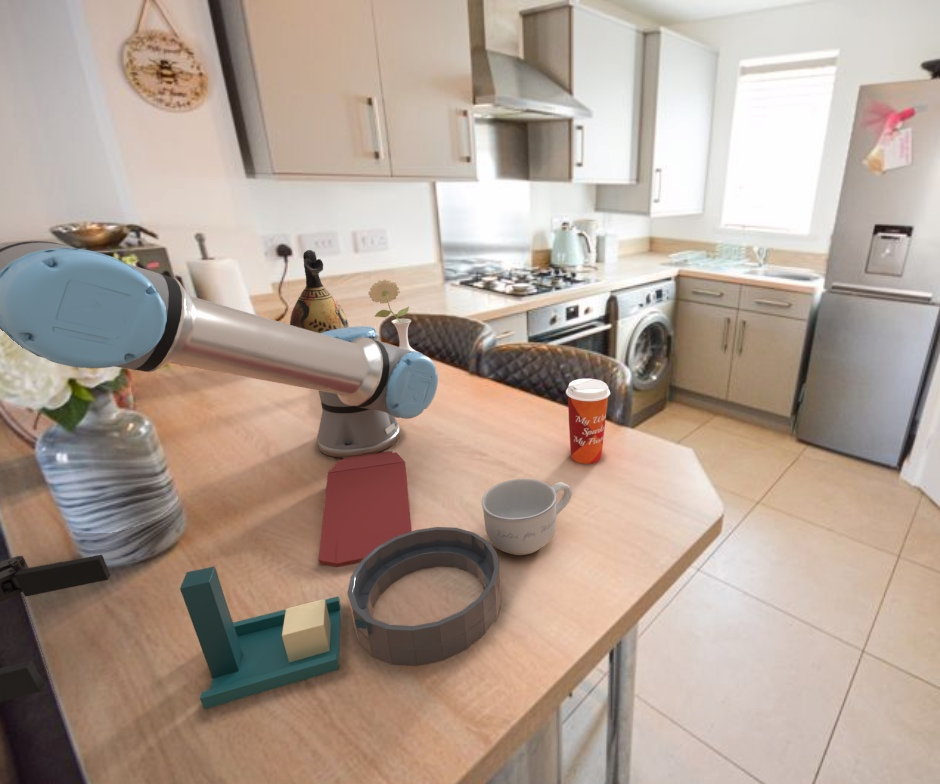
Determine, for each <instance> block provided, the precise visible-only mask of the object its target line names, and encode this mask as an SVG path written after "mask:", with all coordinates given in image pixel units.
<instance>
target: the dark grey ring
mask: <svg viewBox="0 0 940 784" xmlns="http://www.w3.org/2000/svg"><path fill="white" fill-rule="evenodd" d="M499 563H500V562H499V559H498V553H497V551H496V550H495V549H494V546H493V545H491V542H490V541H488V540H487V539H485V538H484V537H482V536H480V535H479V534H478V533H476V532H473V531H469V530H466V529H463V528H459V527H451V526H450V527H449V526H448V527H447V526H445V527H444V526H434V527H427V528H420V529H415V530H412V531H411V532H408V533H405V534H402V535H399V536H396V537H394V538H392V539H390V540H389V541H387V542H385V543H383V544H381V545H380V546H378V547H377V548H375V549H374V550H373V551H372V552H371V553H369V554H368V555H367V556H366V557H365V558H364V559H363V560H361V562H358V564H357V567H355V568H354V569H355V570H353V572H352V574H351V575H350V579H349V584H348V589H347V598H348V604H349V607H350V613H351V618H352V623H353V627H354V631H355V635H356V637H357V641H358V644H359V645H360V646H361V647H362V648H363V649H364V650H365V651H366V653H367V654H369V655H370V656H371V657H372V658H373V659H377V660H379V661H382V662H384V663H386V664H389V665H392V666H404V667H405V666H407V667H420V666H425V665H431V664H434V663H439V662H443V661H446V660H448V659H450V658H452V657H454V656H456V655H458V654H461V653H462V652H464V651H467V650H468V649H469V648H470V647H472V646H473V645H474V644H475V643H476V642H478V641H479V640H480V639H482V637H484V636H485V635H486V634H487V632H488V631H489V629H490V628H491V627H492V625H493V623H494V622H496V621H497V618H498V614H499V610H500V606H501V604H502V603H501V602H502V595H501V594H502V593H501V576H500V575H501V573H500V564H499ZM438 567H439V568H454V569H458V570H461V571H465V572H468V573H469V574H470V575H472V576H473V577H475V578H476V579H478V581H479V583H480V584H481V586H482V588H483V591H482V593H481V594H480V595H479V596H478V598H476V599H475V600H474V601H472V602H471V603H470V604H469V605H467V606H466V607H465V608H463V609H462V610H460V611H458V612H456V613H453V614H450V616H449V615H448V616H447V617H444V618H442V619H439V620H437V621H432V622H426V623H422V624H416V625H405V624H404V625H401V624H389V623H386V622H383V621H381V620H377V619H376V618H372V617H373V609H374V608H375V605H376V604H377V602H378V600H379V598H380V596H382V595H383V593H385V592H386V591H387V589H388V588H389V587H390V586H391V585H393V584H395V583H396V582H398V581H399V580H401V579H402V578H404V577H406V576H408V575H411V574H413V573H415V572H418V571H421V570H426V569H432V568H438Z"/></svg>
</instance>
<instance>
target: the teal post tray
mask: <svg viewBox="0 0 940 784" xmlns="http://www.w3.org/2000/svg"><path fill="white" fill-rule="evenodd" d="M184 575H185V576H184V577H183V580H182V582H181V585H180V587H179V590H180V592H181V593H180V594H181V596H182V599H183V601H184V604H185V607H186V609H187V612H188V616H189V617H190V620H191V623H192V625H193V629H194V631H195V634H196V637H197V639H198V643H199V645H200V648H201V651H202V654H203V656H204V660H205V662H206V664H207V668H208V670H209V674H210V676H211V678H212V679H211V682H210V685H209V689H207V690H204V691H201V694H200V697H199V699H200V702H201V705H202V708H203V709H204V710H208V709H210V708H213V707H217V706H220V705H224V704H227V703H230V702H234V701H236V700H240V699H243V698H244V699H245V698H247V697H251V696H254V695H257V694H261V693H264V692H267V691H271V690H274V689H277V688H281V687H285V686H288V685H291V684H295V683H298V682H301V681H305V680H308V679H312V678H315V677H318V676H321V675H326V674H328V673H331V672H335V671H338V670H339V669H340V649H341V646H340V645H341V643H340V642H341V614H342V611H341V610H342V605H341V601H340V596H339V595H337V596H334V597H330V598H324V599H325V600H326V605H327V609H328V614H329V618H330V623H331V634H330V651H328V652H325V653H321V654H318V655H314V656H311V657H307V658H304V659H300V660H297V661H293V662H289V660H288V656H287V653H286V649H285V645H284V642H283V638H282V631H283V625H284V618H285V612H286V608H285V609H281V610H277V611H274V612H270V613H266V614H262V615H258V616H254V617H250V618H245V619H241V620H238V621H237V620H236V621H233V618H232V616H231V612H230V609H229V606H228V603H227V599H226V596H225V594H224V590H223V587H222V584H221V581H220V579H219V574H218V572H217V569H216V566H209V567H205V568H200V569H195V570H191V571H190V570H189V571H186V572H185V574H184Z"/></svg>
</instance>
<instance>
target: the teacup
mask: <svg viewBox="0 0 940 784" xmlns="http://www.w3.org/2000/svg"><path fill="white" fill-rule="evenodd" d="M561 491H563V494H562V497H560V500H559V501H558V502H557V500H558V493H559V492H561ZM572 493H573V492H572V489H571V487H570V485H569V484H567V483H566V482H563V481H558V482H556V483H555V484H553V485H550V484H549V483H547V482H545V481H542V480H539V479H535V478H515V479H514V478H513V479H509V480H505V481H502V482H501V481H500V482H499V483H497V484H494V485H493V486H491V487H490V488H489V489H487V490H486V491H485V492H484V494H483V496H482V498H481V507H482V510H483V520H484V527H485V532H486V533H485V534H486V536H487V539H488V540H489V543H490V544H492V546H493V547H495V548H496V549H497V550H499V551H501V552H504V553H507V554H509V555H514V556H524V555H525V556H526V555H529V554H533V553H535V552H538V551H539V550H540V549H542V548H543V547H545V546H546V545H547V544H548V543H550V541H551V540H552V539H553V537H554V535H555V534H556V529H557V522H558V521H557V520H558V519H557V516H558V515H559V514H560V513H561V512H562V511H563V510H564V509H565V508H566V506H567V505H568V504H569V503H570V501H571V499H572Z"/></svg>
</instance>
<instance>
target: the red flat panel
mask: <svg viewBox="0 0 940 784" xmlns="http://www.w3.org/2000/svg"><path fill="white" fill-rule="evenodd" d="M323 507H324V508H323V515H322V524H321V525H322V526H321V533H320V534H321V535H320V544H319V553H318V563H319V564H320V565H325V566H331V567H342V566H343V567H344V566H348V565H354V564H357V563H358V564H359V563H360V562H361V560H363V559H364V558H365V557H366V556H367V555H368V554H369V553H371V552H372V551H373V550H374V549H375V548H377V547H378V546H380V545H381V544H383V543H385V542H387V541H389V540H390V539H392V538H394V537H396V536H399V535H402V534H405V533H408V532H411V531H413V530H412V520H411V510H410V509H411V508H410V499H409V487H408V475H407V467H406V460H405V459H403V457H402V456H400V454H399V453H398V452H397V451H395V452H393V450H389V451H381V452H378V453H374V454H368V455H361V456H354V457H347V458H342V459H339V460H337V461H336V463H335V464H334V465H333V466H332V467H331V469H329V471H327V476H326V486H325V496H324V505H323Z"/></svg>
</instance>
